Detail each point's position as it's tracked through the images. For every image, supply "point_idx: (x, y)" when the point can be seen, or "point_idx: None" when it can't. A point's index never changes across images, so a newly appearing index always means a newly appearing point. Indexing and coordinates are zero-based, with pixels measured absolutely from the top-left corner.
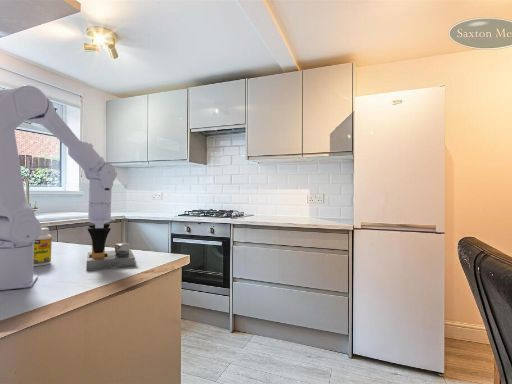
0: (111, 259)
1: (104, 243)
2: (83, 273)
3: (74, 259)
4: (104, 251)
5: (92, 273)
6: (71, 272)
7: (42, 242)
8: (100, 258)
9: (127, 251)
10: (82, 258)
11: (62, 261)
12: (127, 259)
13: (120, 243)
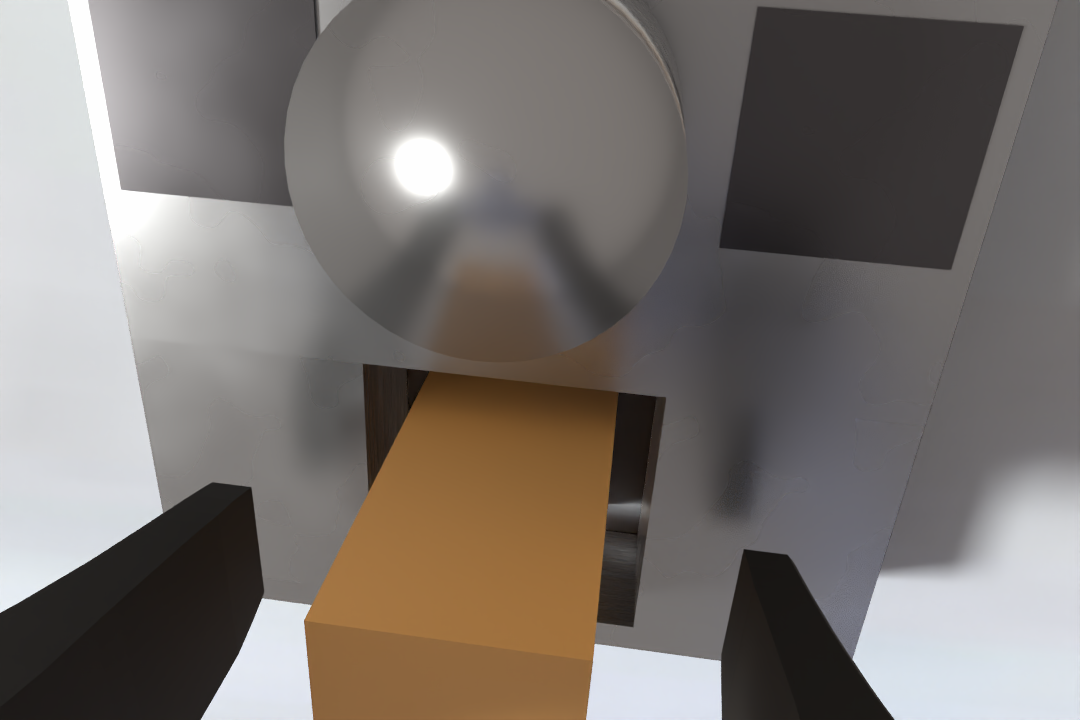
0: (941, 371)
1: (869, 695)
2: (954, 614)
3: None
4: (605, 494)
5: (1031, 538)
6: None
7: None
8: (753, 508)
9: (651, 18)
10: (81, 537)
11: (206, 709)
12: (1022, 60)
13: (352, 208)
